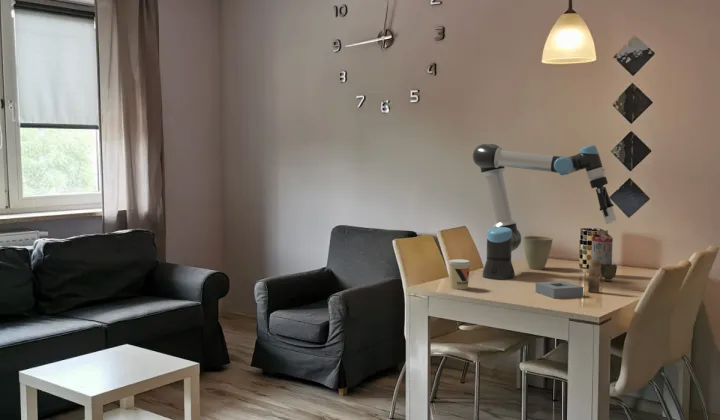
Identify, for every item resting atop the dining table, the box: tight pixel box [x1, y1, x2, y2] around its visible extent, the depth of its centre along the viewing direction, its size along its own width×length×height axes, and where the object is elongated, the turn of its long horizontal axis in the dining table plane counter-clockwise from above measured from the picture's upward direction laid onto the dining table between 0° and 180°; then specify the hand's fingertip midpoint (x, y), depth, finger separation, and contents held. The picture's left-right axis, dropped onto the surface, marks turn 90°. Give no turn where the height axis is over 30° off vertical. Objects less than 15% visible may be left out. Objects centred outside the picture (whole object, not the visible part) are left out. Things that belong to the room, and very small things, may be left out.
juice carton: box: [591, 230, 614, 278], centre depth 340 cm, size 7×7×22 cm
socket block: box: [535, 280, 584, 299], centre depth 294 cm, size 14×14×4 cm
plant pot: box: [522, 235, 553, 270], centre depth 360 cm, size 15×15×16 cm
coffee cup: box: [448, 258, 471, 290], centre depth 307 cm, size 9×9×12 cm
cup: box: [600, 263, 618, 283], centre depth 325 cm, size 8×7×8 cm
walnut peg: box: [587, 258, 600, 294], centre depth 299 cm, size 4×4×14 cm
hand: (611, 222), depth 322 cm, fingers open, 13 cm apart
